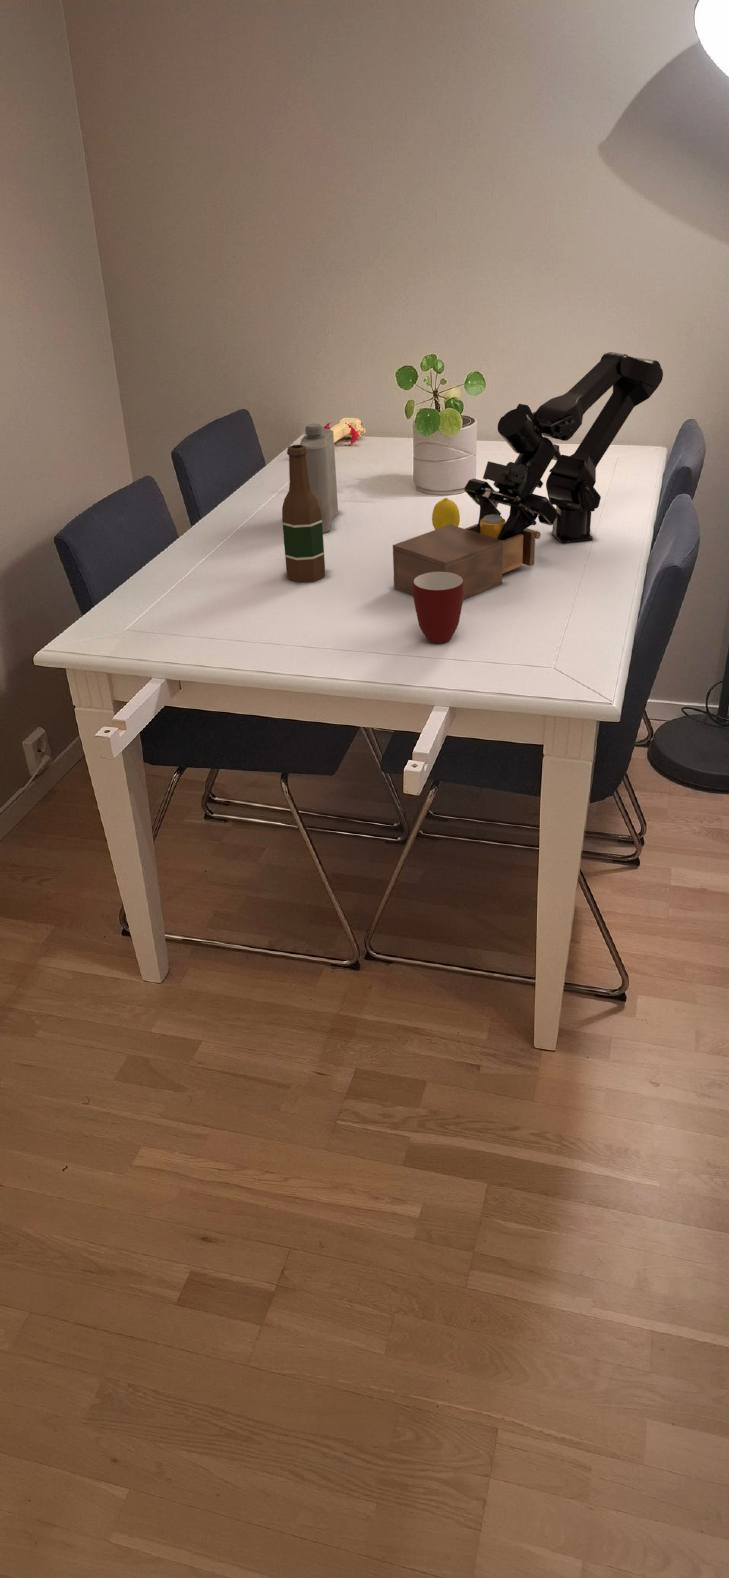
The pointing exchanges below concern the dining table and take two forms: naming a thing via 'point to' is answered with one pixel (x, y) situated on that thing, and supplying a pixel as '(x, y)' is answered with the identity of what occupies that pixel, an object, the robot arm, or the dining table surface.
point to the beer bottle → (302, 523)
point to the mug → (438, 604)
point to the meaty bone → (347, 429)
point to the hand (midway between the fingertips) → (487, 541)
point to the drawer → (517, 548)
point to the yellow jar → (491, 525)
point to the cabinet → (450, 559)
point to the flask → (322, 470)
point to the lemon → (445, 514)
